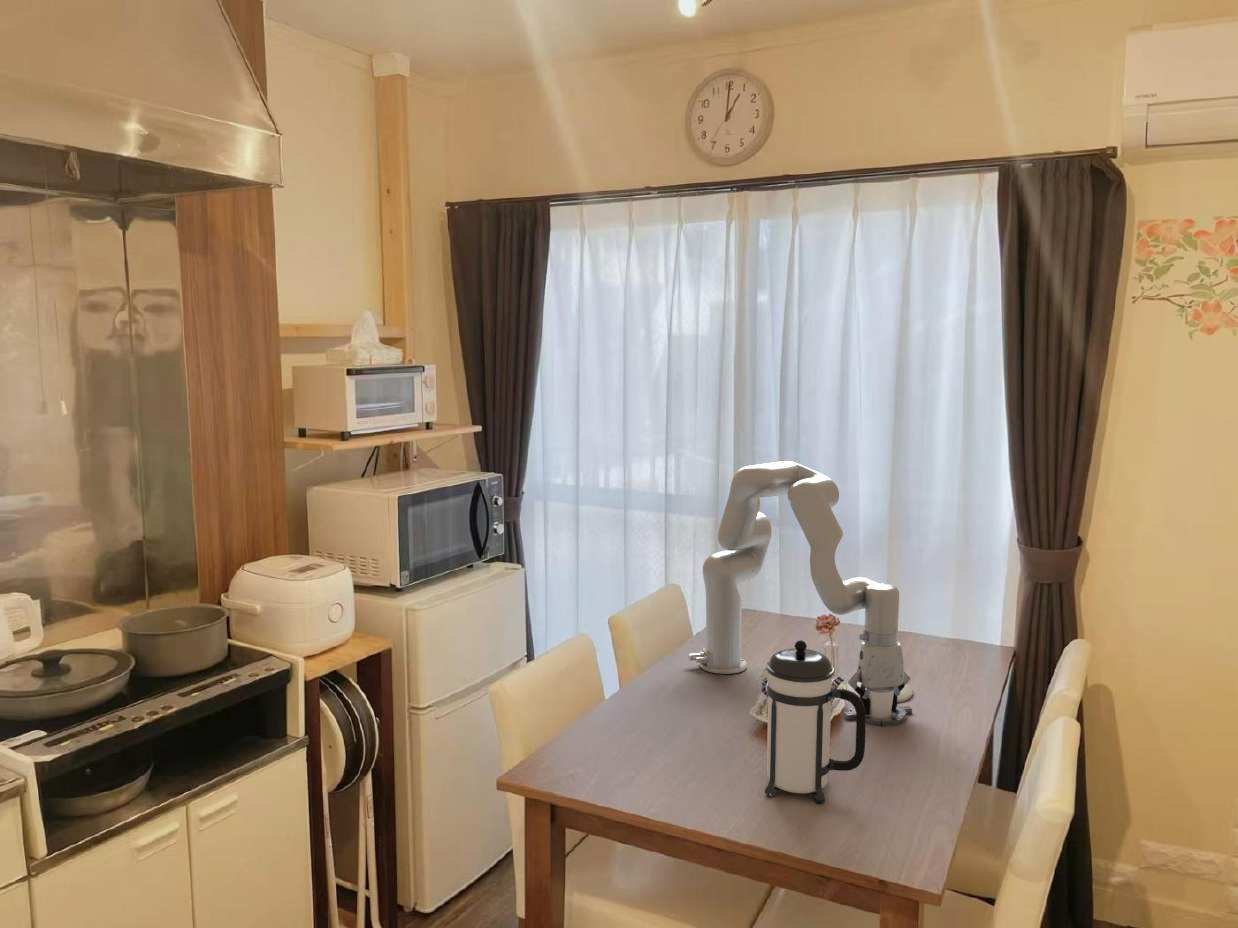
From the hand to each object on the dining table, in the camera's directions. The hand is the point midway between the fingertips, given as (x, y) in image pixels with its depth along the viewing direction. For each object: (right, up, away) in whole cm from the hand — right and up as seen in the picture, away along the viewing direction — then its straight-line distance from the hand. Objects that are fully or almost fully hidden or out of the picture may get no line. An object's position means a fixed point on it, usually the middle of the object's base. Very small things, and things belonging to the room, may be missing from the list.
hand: (878, 710), depth 219 cm
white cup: (0, -1, 0) cm, 1 cm away
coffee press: (-24, -6, -35) cm, 43 cm away
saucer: (+4, +1, +15) cm, 16 cm away
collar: (0, -1, 0) cm, 1 cm away
